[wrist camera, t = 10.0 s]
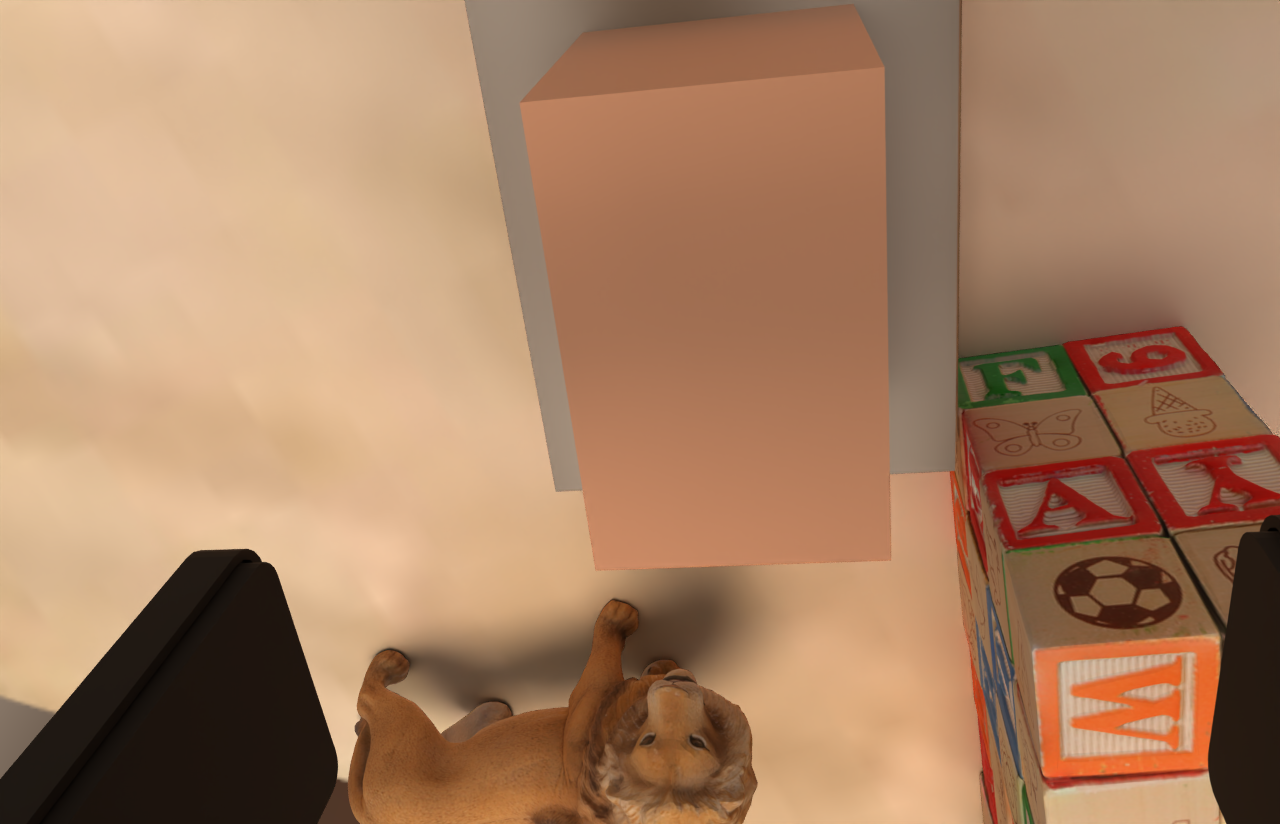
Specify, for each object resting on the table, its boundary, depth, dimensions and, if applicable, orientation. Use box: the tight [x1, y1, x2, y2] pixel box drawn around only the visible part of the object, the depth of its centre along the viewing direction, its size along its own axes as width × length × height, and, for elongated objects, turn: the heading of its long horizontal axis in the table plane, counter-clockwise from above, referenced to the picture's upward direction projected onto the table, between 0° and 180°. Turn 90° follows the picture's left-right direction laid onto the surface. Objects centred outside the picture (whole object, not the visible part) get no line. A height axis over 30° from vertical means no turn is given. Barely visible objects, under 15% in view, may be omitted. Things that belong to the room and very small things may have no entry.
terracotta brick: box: [520, 4, 891, 570], centre depth 19 cm, size 5×8×6 cm, turn 7°
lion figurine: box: [348, 600, 757, 824], centre depth 32 cm, size 15×5×9 cm, turn 117°
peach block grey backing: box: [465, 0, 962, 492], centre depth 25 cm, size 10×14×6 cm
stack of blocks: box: [950, 326, 1280, 824], centre depth 28 cm, size 21×6×12 cm, turn 12°
